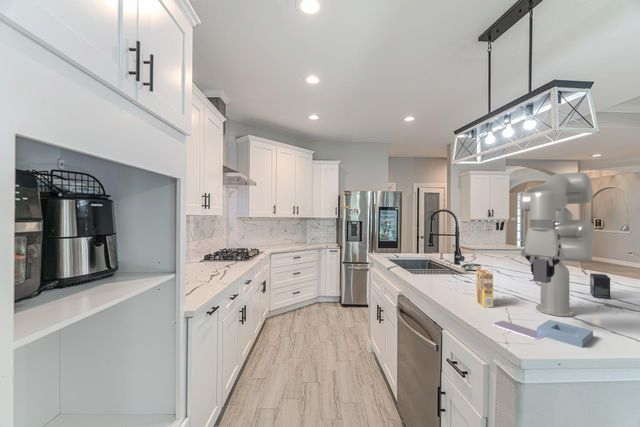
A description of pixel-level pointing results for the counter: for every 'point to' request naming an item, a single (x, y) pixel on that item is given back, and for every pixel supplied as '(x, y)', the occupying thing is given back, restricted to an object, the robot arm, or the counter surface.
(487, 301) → the candy box
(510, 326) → the mobile phone
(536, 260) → the block
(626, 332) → the counter surface
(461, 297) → the counter surface
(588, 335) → the blue square socket base
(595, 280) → the small box
